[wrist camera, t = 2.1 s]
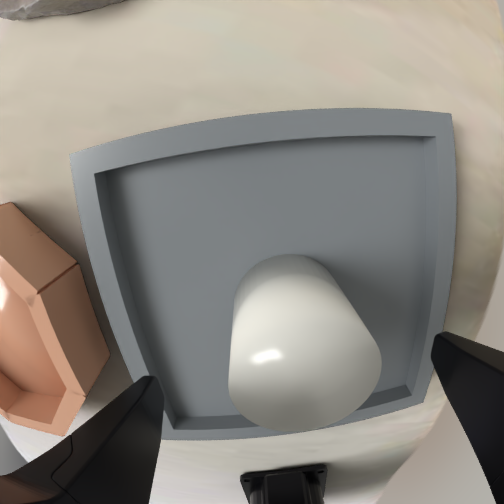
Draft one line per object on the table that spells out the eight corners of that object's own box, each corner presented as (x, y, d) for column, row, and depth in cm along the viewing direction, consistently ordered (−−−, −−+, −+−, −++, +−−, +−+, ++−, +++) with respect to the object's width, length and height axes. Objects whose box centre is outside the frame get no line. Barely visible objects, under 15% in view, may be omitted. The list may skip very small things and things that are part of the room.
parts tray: (410, 381, 16) (423, 402, 14) (168, 415, 16) (161, 439, 14) (426, 117, 11) (451, 113, 9) (92, 153, 11) (69, 154, 9)
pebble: (337, 339, 13) (372, 417, 8) (241, 352, 13) (240, 438, 8) (336, 247, 12) (388, 305, 7) (226, 261, 12) (214, 329, 7)
